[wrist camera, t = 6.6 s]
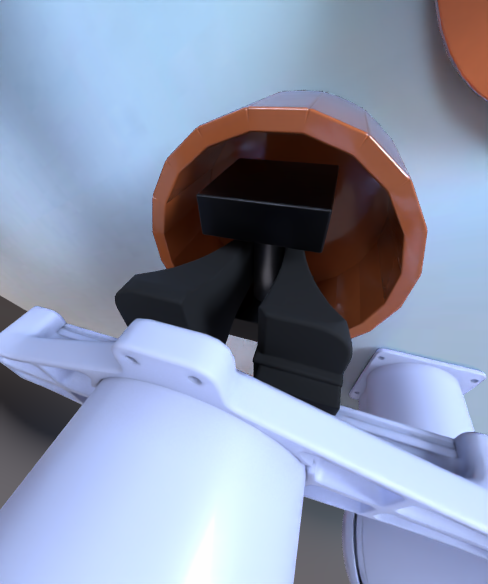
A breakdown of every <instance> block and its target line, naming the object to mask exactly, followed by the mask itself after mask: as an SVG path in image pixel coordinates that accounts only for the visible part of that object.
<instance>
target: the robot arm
mask: <svg viewBox="0 0 488 584" xmlns="http://www.w3.org/2000/svg"><path fill="white" fill-rule="evenodd" d="M253 280H254V242H247V241H241V240H235V239H234V240H233V241H231V242H229V243H228V244H226V245H225V246H223V247H221V248H219V249H218V250H216V251H214V252H212V253H210V254H208V255H206V256H204V257H202V258H199V259H197V260H194V261H192V262H189V263H186V264H183V265H180V266H177V267H173V268H169V269H165V270H160V271H155V272H149V273H143V274H136V275H134V276H133V277H132V278H131V279H130V280H129V281H128V282H127V283H126V284H125V285H124V286H123V287H122V288H121V289H120V290H119V291H118V292H117V293H116V296H115V303H116V306H117V308H118V310H119V312H120V314H121V316H122V317H123V319H124V321H125V323H126V325H127V326H128V327H127V329H126V330H125V331H124V332H123V333H122V335H121V336H120V337H119V338H114V337H111V336H108V335H104V334H101V333H98V332H94V331H91V330H87V329H84V328H81V327H77V326H74V325H71V324H67V323H66V322H65V320H64V319H63V317H62V316H61V315H60V314H59V313H57V312H56V311H53V310H50V309H47V308H43V307H40V306H34V307H33V308H32V309H30V310H29V311H28V312H27V313H25V314H24V315H23V316H21V317H20V318H19V319H17V320H16V321H15V322H14V323H12V324H11V325H10V326H9V327H7V328H6V329H5V330H3V331H2V332H1V333H0V362H1V363H2V364H4V365H5V366H7V367H8V368H9V369H11V370H12V371H13V372H15V373H16V374H17V375H19V376H20V377H21V378H23V379H26V380H29V381H31V382H33V383H36V384H38V385H41V386H43V387H45V388H47V389H50V390H52V391H54V392H57V393H59V394H61V395H63V396H65V397H67V398H69V399H71V400H73V401H75V402H78V403H80V404H82V406H81V407H80V409H79V410H78V411H77V413H76V414H75V415H74V416H73V418H72V419H71V420H70V421H69V423H68V424H67V425H66V427H65V428H64V429H63V430H62V432H61V433H60V434H59V435H58V437H57V438H56V439H55V441H54V442H53V443H52V444H51V446H50V447H49V448H48V449H47V451H46V452H45V453H44V455H43V456H42V457H41V458H40V460H39V461H38V462H37V463H36V465H35V466H34V467H33V469H32V470H31V471H30V473H29V474H28V475H27V476H26V478H25V479H24V480H23V481H22V483H21V484H20V485H19V487H18V488H17V489H16V490H15V492H14V493H13V494H12V495H11V497H10V498H9V499H8V500H7V502H6V503H5V504H4V506H3V507H2V508H1V509H0V584H293V581H294V573H295V564H296V555H297V547H298V539H299V530H300V521H301V512H302V504H303V496H304V497H307V498H310V499H314V500H316V501H319V502H322V503H325V504H329V505H332V506H335V507H338V508H341V509H344V510H345V511H344V516H343V524H342V546H343V556H344V562H345V566H346V571H347V575H348V578H349V581H350V584H488V435H486V434H482V433H478V432H475V431H474V428H473V425H472V421H471V418H470V415H469V412H468V409H467V406H466V403H465V400H464V397H463V395H464V394H466V393H467V392H468V391H470V390H471V389H473V388H474V387H475V386H477V385H478V384H480V383H481V382H482V381H484V380H485V379H486V375H485V373H484V372H482V371H478V370H474V369H470V368H466V367H461V366H457V365H453V364H449V363H444V362H440V361H436V360H432V359H427V358H423V357H419V356H415V355H410V354H406V353H402V352H398V351H393V350H389V349H385V348H380V349H377V350H376V352H375V353H374V355H373V357H372V358H371V360H370V361H369V363H368V364H367V366H366V368H365V369H364V371H363V372H362V374H361V375H360V377H359V379H358V380H357V382H356V383H355V385H354V386H353V388H352V390H351V391H350V395H349V396H350V397H351V398H353V399H356V400H359V410H356V409H352V408H349V407H346V406H342V405H340V393H341V387H342V384H343V374H344V372H345V370H346V368H347V366H348V364H349V362H350V360H351V357H352V342H351V336H350V332H349V328H348V324H347V321H346V320H345V319H344V318H343V317H342V316H341V315H340V314H339V313H338V312H337V311H336V310H335V309H334V308H333V307H332V306H331V305H330V304H329V303H328V301H327V300H326V298H325V297H324V296H323V294H322V293H321V291H320V290H319V288H318V286H317V285H316V283H315V281H314V279H313V277H312V274H311V272H310V269H309V267H308V263H307V260H306V256H305V251H304V250H297V249H291V248H286V249H285V253H284V258H283V263H282V266H281V269H280V271H279V273H278V275H277V277H276V279H275V282H274V284H273V286H272V287H271V289H270V291H269V293H268V294H267V296H266V297H265V299H264V300H263V302H262V303H261V305H260V306H259V313H258V345H257V348H256V351H255V354H254V357H253V363H254V375H253V377H252V376H250V375H248V374H246V373H244V372H241V371H239V370H237V369H236V368H235V359H234V357H233V355H232V352H231V350H230V349H229V347H228V346H226V345H225V344H226V341H227V338H228V335H229V333H230V330H231V327H232V324H233V322H234V319H235V316H236V314H237V312H238V309H239V307H240V305H241V303H242V301H243V300H244V298H245V296H246V294H247V292H248V290H249V288H250V286H251V284H252V282H253Z"/></svg>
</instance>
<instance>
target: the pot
mask: <svg viewBox="0 0 488 584" xmlns="http://www.w3.org/2000/svg"><path fill="white" fill-rule="evenodd" d="M239 158H247V159H261V160H275V161H289V162H302V163H316V164H330V165H338V166H339V171H338V177H337V184H336V190H335V197H334V203H333V210H332V214H331V219H330V223H329V227H328V231H327V235H326V239H325V243H324V248H323V251H322V253H316V252H310V251H305V256H306V260H307V263H308V267H309V269H310V272H311V274H312V276H314V278H313V279H314V281H315V283H316V285H317V286H318V288H319V290H320V291H321V293H322V294H323V296H324V297H325V298H326V300H327V301H328V303H329V304H330V305H331V306H332V307H333V308H334V309H335V310H336V311H337V312H338V313H339V314H340V315H341V316H342V317H343V318H344V319H345V320H346V321H347V324H348V328H349V332H350V336H351V339H352V338H354V337H357V336H359V335H362V334H364V333H367V332H369V331H371V330H373V329H374V328H375V327H376V326H378V325H379V324H380V323H382V322H383V321H384V320H385V319H387V318H388V317H389V316H390V315H392V314H393V313H394V312H396V311H397V310H398V309H399V308H401V306H402V304H403V303H404V301H405V300H406V298H407V296H408V295H409V293H410V292H411V290H412V288H413V287H414V285H415V284H416V282H417V280H418V279H419V277H420V276H421V273H422V266H423V259H424V252H425V245H426V238H427V226H426V223H425V220H424V217H423V213H422V210H421V207H420V204H419V201H418V198H417V195H416V192H415V188H414V185H413V182H412V180H411V177H410V175H409V173H408V171H407V169H406V167H405V165H404V163H403V161H402V158H401V156H400V154H399V152H398V150H397V148H396V146H395V144H394V142H393V140H392V138H391V137H390V136H389V135H388V134H387V133H386V132H385V131H384V129H383V128H382V127H381V125H380V124H379V123H378V122H377V121H376V120H375V119H374V118H373V117H372V116H371V115H370V114H369V113H368V112H367V111H366V110H364V109H363V108H362V107H360V106H358V105H356V104H355V103H353V102H351V101H348V100H346V99H344V98H342V97H340V96H337V95H333V94H330V93H328V92H323V91H310V90H298V91H282V92H278V93H275V94H273V95H270V96H268V97H266V98H263V99H261V100H258V101H256V102H254V103H251V104H249V105H246V106H244V107H242V108H239V109H237V110H235V111H232V112H230V113H228V114H225V115H223V116H221V117H218V118H216V119H214V120H211V121H209V122H207V123H204V124H202V125H200V126H199V127H197V128H195V129H194V130H193V132H192V133H191V134H190V135H189V136H188V137H187V138H186V139H185V140H184V141H183V142H182V143H181V144H180V145H179V146H178V147H177V148H176V149H175V150H174V151H173V153H172V154H171V155H170V156H169V157H168V158H167V160H166V161H165V164H164V166H163V169H162V172H161V174H160V177H159V180H158V182H157V185H156V188H155V190H154V193H153V198H152V230H153V231H152V232H153V235H154V238H155V242H156V245H157V248H158V251H159V254H160V258H161V261H162V262H163V264H164V266H165V267H166V269H169V268H173V267H177V266H180V265H183V264H186V263H189V262H192V261H194V260H197V259H199V258H202V257H204V256H206V255H208V254H210V253H212V252H214V251H216V250H218V249H219V248H221V247H223V246H225V245H226V244H228V243H229V242H231V241H233V240H234V239H229V238H223V237H216V236H210V235H204V234H203V233H202V228H201V221H200V215H199V209H198V202H197V194H198V193H199V192H200V191H201V190H202V189H204V188H205V187H206V186H207V185H208V184H210V183H211V182H212V181H213V180H214V179H215V178H217V177H218V176H219V175H220V174H221V173H222V172H224V171H225V170H226V169H227V168H228V167H229V166H231V165H232V164H233V163H234V162H235V161H236V160H238V159H239Z"/></svg>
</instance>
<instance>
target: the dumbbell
mask: <svg viewBox="0 0 488 584" xmlns="http://www.w3.org/2000/svg"><path fill="white" fill-rule="evenodd" d="M338 171H339V166H338V165H330V164H316V163H302V162H289V161H275V160H261V159H247V158H239V159H238V160H236V161H235V162H234V163H233V164H232V165H231V166H229V167H228V168H227V169H226V170H225V171H224V172H222V173H221V174H220V175H219V176H218V177H217V178H215V179H214V180H213V181H212V182H211V183H210V184H208V185H207V186H206V187H205V188H204V189H202V190H201V191H200V192H199V193H198V194H197V202H198V209H199V215H200V221H201V228H202V233H203V234H204V235H210V236H216V237H223V238H229V239H235V240H241V241H247V242H254V280H253V282H252V284H251V286H250V288H249V290H248V292H247V294H246V296H245V298H244V300H243V301H242V303H241V305H240V307H239V309H238V312H237V314H236V316H235V319H234V322H233V324H232V327H231V330H230V333H229V334H230V335H233V336H237V337H241V338H245V339H249V340H252V341H256V342H258V313H259V306H260V305H261V303H262V302H263V300H264V299H265V297H266V296H267V294H268V293H269V291H270V289H271V287H272V286H273V284H274V282H275V279H276V277H277V275H278V273H279V271H280V269H281V266H282V263H283V258H284V253H285V249H286V248H291V249H297V250H304V251H310V252H316V253H322V251H323V248H324V243H325V239H326V235H327V231H328V227H329V223H330V219H331V214H332V210H333V203H334V197H335V190H336V184H337V177H338ZM312 277H313V278H314V276H312Z"/></svg>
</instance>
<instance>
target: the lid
mask: <svg viewBox="0 0 488 584" xmlns="http://www.w3.org/2000/svg"><path fill="white" fill-rule="evenodd" d="M434 1H435V7H436V13H437V19H438V26H439V31H440V34H441V37H442V40H443V43H444V46H445V49H446V52H447V55H448V57H449V59H450V60H451V62H452V64H453V66H454V68H455V69H456V71H457V73H458V75H459V76H460V77H461V78H462V79H463V81H464V82H465V83H466V84H467V85H468V86H469V87H470V89H471V90H472V91H473V92H474V93H476V94H477V95H478V96H480V97H481V98H483V99H484V100H485V101H487V102H488V0H434Z"/></svg>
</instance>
